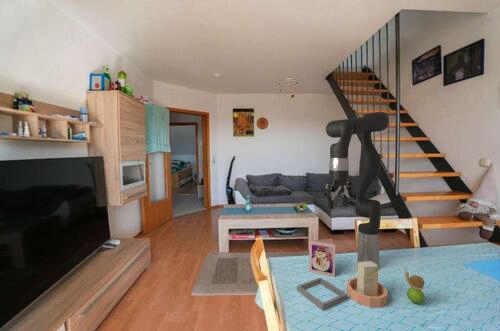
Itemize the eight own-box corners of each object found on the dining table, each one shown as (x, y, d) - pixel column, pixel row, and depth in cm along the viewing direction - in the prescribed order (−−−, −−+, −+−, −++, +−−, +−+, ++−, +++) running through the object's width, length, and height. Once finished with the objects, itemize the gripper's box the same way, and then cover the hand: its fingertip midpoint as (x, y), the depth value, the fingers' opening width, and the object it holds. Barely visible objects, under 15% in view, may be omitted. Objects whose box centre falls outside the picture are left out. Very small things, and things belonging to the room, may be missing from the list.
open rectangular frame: (320, 281, 103) (320, 277, 103) (347, 299, 91) (347, 294, 90) (297, 290, 97) (297, 285, 97) (322, 310, 84) (322, 305, 84)
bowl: (362, 282, 102) (362, 274, 102) (395, 299, 90) (395, 291, 90) (339, 291, 96) (339, 283, 95) (371, 312, 83) (372, 302, 83)
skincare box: (363, 298, 90) (364, 267, 90) (356, 291, 95) (357, 261, 94) (378, 296, 91) (379, 265, 91) (370, 289, 96) (371, 260, 95)
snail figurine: (404, 295, 93) (405, 265, 92) (424, 301, 89) (426, 270, 88) (402, 301, 89) (403, 270, 88) (423, 309, 85) (425, 276, 84)
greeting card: (308, 272, 111) (309, 241, 110) (312, 265, 118) (312, 235, 117) (334, 278, 106) (335, 245, 105) (336, 270, 113) (336, 239, 112)
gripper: (343, 167, 104) (342, 204, 105) (319, 169, 97) (318, 208, 98) (358, 168, 98) (357, 207, 99) (333, 170, 91) (333, 212, 92)
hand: (338, 207), depth 99 cm, fingers open, 8 cm apart
